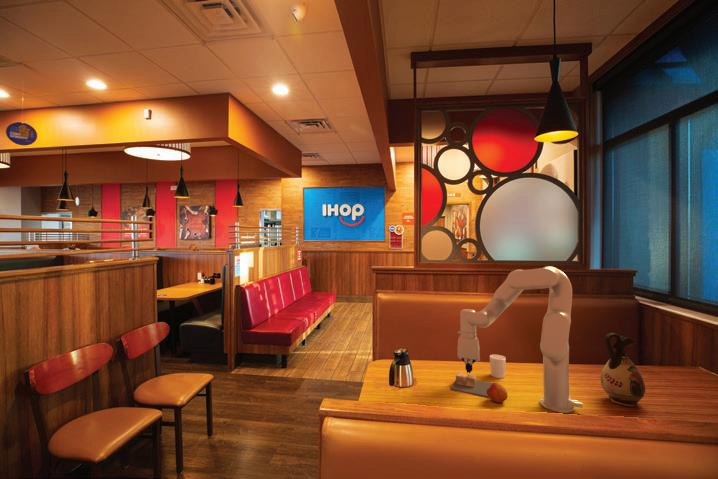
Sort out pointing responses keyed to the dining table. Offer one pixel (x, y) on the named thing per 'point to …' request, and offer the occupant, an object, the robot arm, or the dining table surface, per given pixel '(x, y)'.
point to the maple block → (466, 379)
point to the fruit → (497, 393)
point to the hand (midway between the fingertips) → (469, 371)
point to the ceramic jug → (621, 374)
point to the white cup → (497, 366)
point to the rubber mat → (473, 388)
